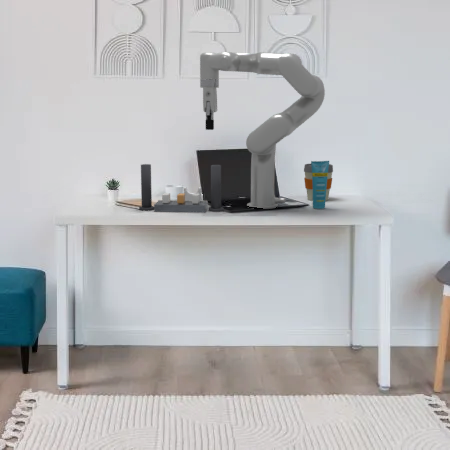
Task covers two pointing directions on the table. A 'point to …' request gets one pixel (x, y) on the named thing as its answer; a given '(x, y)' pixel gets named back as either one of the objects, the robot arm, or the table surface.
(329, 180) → the reusable coffee cup
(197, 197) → the paddle
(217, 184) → the post
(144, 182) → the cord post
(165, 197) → the white rectangular block
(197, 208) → the breaker panel
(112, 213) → the table surface
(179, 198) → the block
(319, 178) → the tube
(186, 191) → the bracket
